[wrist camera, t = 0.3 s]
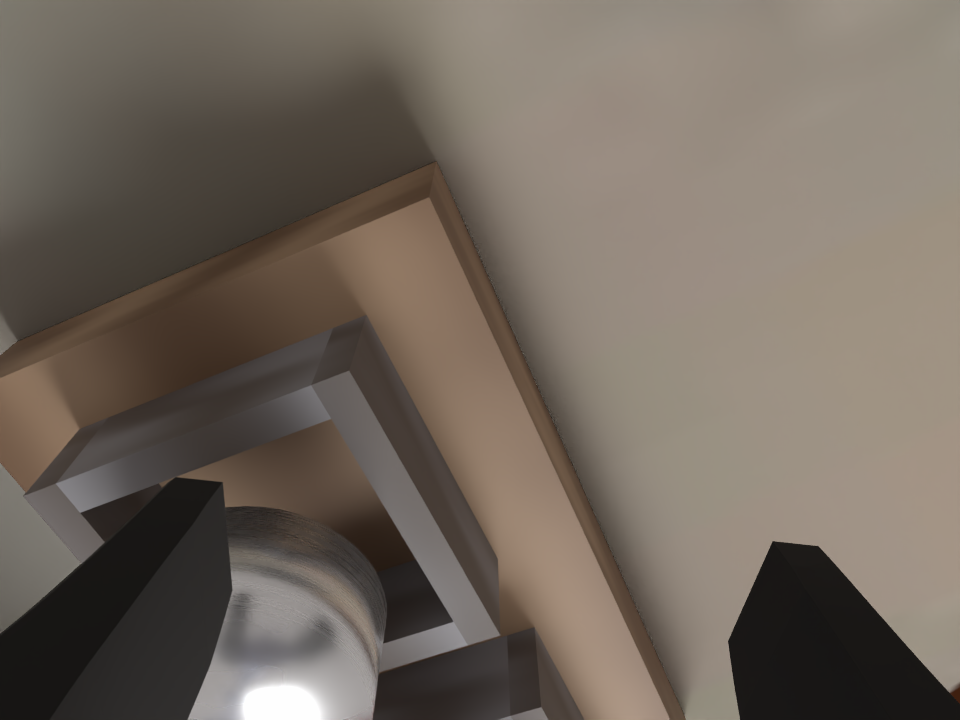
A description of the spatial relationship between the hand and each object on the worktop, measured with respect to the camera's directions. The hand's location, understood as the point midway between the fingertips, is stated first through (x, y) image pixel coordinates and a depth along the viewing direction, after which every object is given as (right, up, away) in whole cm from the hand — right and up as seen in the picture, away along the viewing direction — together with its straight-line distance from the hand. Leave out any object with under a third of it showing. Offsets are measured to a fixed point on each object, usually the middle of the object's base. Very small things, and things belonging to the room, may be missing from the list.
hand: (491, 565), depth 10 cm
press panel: (-3, -3, +13) cm, 14 cm away
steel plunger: (-5, -2, +5) cm, 7 cm away
